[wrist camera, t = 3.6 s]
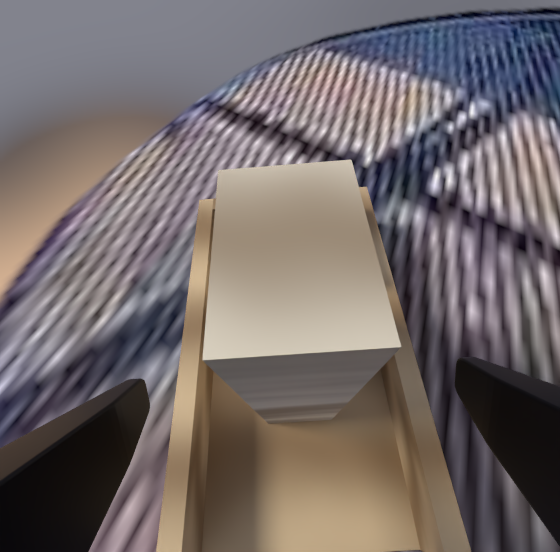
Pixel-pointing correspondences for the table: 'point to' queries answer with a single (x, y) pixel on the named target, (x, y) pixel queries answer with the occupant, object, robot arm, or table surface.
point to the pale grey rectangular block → (295, 291)
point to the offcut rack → (304, 454)
